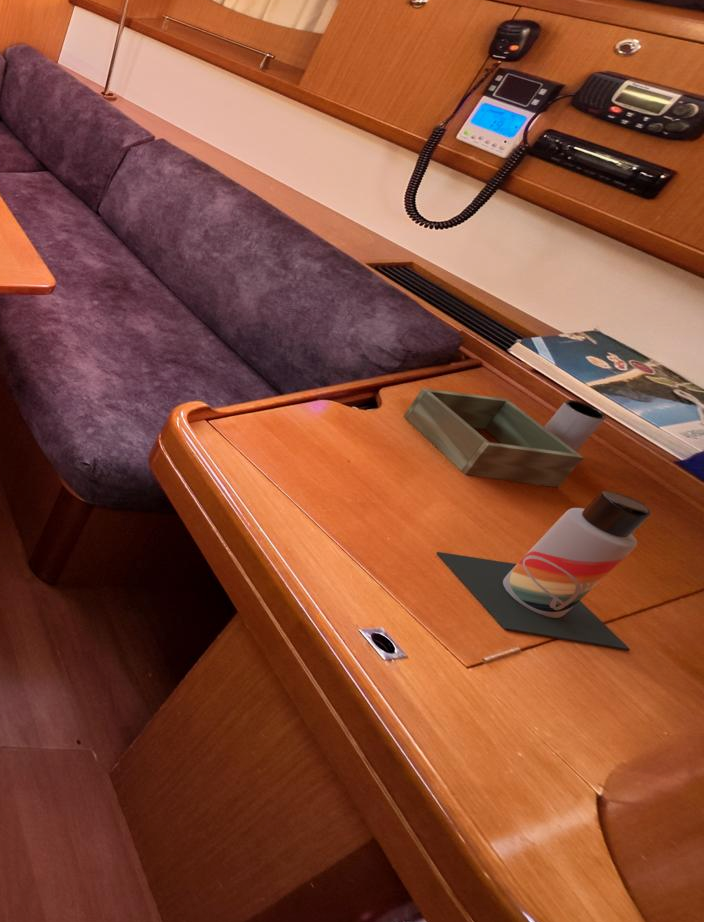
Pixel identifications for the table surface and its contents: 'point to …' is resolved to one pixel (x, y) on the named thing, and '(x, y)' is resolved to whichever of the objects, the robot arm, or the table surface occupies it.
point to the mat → (514, 616)
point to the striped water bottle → (576, 554)
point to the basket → (522, 438)
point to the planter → (575, 423)
